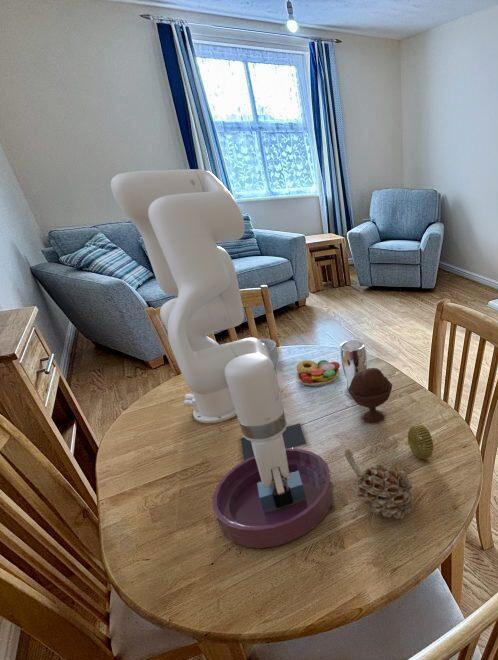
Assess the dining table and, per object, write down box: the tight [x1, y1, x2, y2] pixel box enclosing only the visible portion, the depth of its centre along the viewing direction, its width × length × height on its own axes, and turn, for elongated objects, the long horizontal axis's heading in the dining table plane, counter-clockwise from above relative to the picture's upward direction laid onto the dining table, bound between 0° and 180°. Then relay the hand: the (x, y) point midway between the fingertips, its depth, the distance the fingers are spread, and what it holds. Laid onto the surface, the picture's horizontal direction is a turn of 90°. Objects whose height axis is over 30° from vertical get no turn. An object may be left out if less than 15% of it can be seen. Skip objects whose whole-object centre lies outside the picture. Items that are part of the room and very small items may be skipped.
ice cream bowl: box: [348, 367, 393, 424], centre depth 104 cm, size 11×11×15 cm
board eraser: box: [257, 471, 306, 514], centre depth 81 cm, size 8×4×4 cm, turn 116°
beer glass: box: [340, 339, 368, 398], centre depth 115 cm, size 7×7×15 cm
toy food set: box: [295, 359, 341, 387], centre depth 126 cm, size 13×13×3 cm
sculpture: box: [407, 424, 434, 460], centre depth 93 cm, size 8×4×8 cm, turn 29°
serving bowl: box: [211, 447, 334, 549], centre depth 81 cm, size 22×22×6 cm
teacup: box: [257, 338, 279, 368], centre depth 129 cm, size 14×11×8 cm
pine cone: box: [344, 447, 415, 519], centre depth 82 cm, size 22×10×10 cm, turn 46°
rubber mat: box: [240, 423, 307, 461], centre depth 99 cm, size 14×9×1 cm, turn 116°
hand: (282, 495), depth 82 cm, fingers closed on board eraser, 4 cm apart
